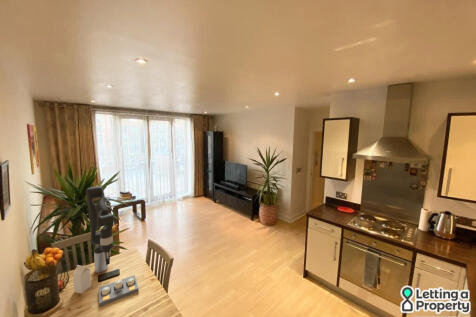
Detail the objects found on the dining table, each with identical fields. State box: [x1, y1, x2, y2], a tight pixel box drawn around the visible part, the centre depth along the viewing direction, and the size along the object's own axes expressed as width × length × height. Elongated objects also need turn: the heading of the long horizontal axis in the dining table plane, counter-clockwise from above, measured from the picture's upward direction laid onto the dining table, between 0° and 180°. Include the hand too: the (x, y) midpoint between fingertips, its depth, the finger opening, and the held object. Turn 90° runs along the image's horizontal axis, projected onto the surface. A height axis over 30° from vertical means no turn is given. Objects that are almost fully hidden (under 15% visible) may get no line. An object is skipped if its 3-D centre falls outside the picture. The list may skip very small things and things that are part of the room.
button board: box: [98, 274, 139, 308], centre depth 146 cm, size 17×24×3 cm
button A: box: [102, 287, 110, 296], centre depth 141 cm, size 5×5×4 cm
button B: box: [114, 279, 122, 290], centre depth 146 cm, size 5×5×4 cm
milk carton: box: [72, 264, 92, 294], centre depth 146 cm, size 7×7×19 cm
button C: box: [127, 278, 134, 287], centre depth 151 cm, size 5×5×4 cm
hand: (107, 264), depth 143 cm, fingers closed
